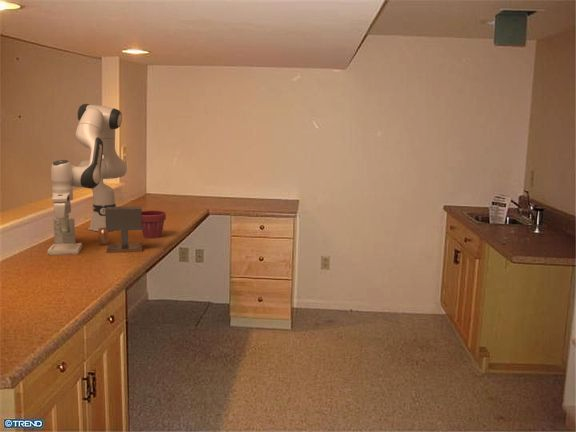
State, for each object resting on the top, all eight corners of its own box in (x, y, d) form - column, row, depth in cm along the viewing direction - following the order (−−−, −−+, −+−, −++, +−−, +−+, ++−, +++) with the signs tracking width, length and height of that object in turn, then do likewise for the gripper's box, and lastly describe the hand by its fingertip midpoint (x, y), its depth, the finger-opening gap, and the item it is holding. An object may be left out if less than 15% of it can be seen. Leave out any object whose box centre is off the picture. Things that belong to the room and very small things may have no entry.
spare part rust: (99, 243, 283) (98, 227, 282) (109, 243, 284) (108, 227, 283) (98, 245, 279) (97, 229, 278) (108, 245, 280) (107, 229, 278)
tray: (53, 248, 272) (52, 244, 271) (82, 247, 274) (81, 243, 274) (47, 255, 259) (47, 250, 259) (77, 254, 262) (77, 249, 261)
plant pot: (159, 240, 292) (158, 215, 290) (133, 238, 295) (133, 214, 293) (170, 234, 306) (169, 211, 304) (146, 233, 309) (145, 209, 307)
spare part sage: (60, 231, 267) (59, 214, 265) (70, 231, 268) (69, 214, 266) (58, 233, 262) (57, 216, 261) (69, 233, 263) (68, 215, 262)
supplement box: (68, 240, 289) (66, 216, 286) (76, 242, 284) (74, 217, 282) (54, 243, 283) (52, 218, 281) (62, 245, 278) (60, 219, 276)
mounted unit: (109, 246, 276) (107, 206, 273) (143, 245, 280) (141, 205, 276) (106, 252, 265) (104, 210, 261) (142, 251, 268) (140, 209, 265)
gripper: (59, 193, 271) (61, 221, 274) (51, 199, 252) (53, 230, 254) (73, 192, 273) (74, 221, 275) (66, 198, 253) (68, 229, 255)
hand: (64, 225), depth 265 cm, fingers closed on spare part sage, 4 cm apart
